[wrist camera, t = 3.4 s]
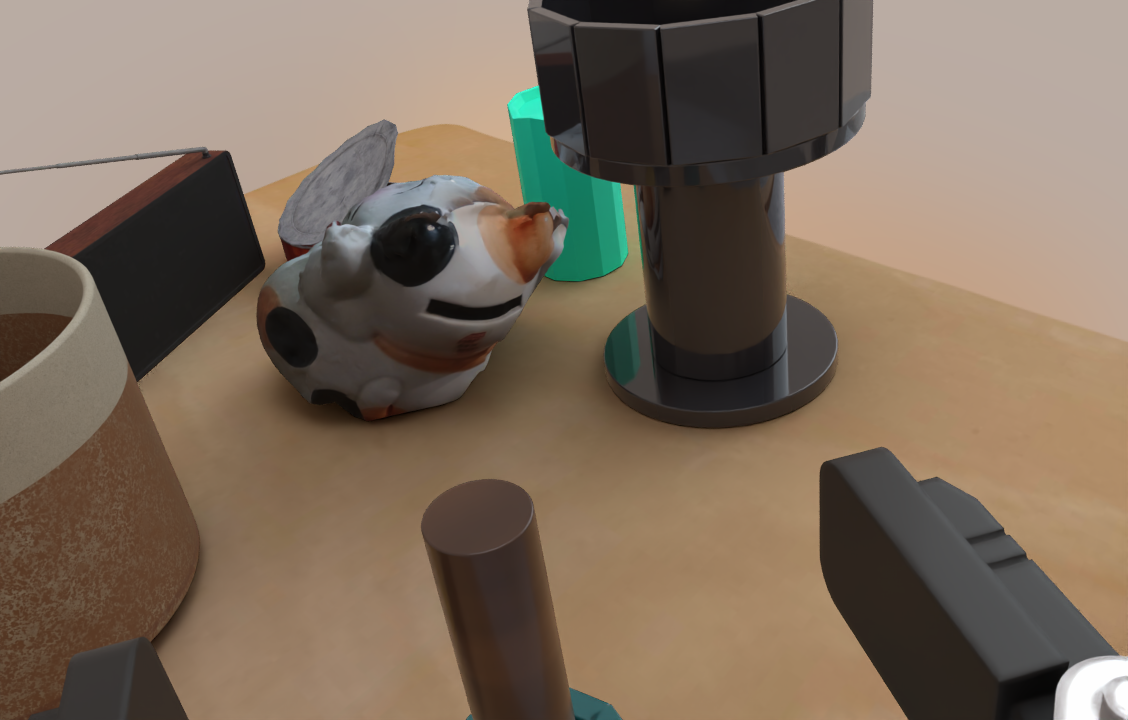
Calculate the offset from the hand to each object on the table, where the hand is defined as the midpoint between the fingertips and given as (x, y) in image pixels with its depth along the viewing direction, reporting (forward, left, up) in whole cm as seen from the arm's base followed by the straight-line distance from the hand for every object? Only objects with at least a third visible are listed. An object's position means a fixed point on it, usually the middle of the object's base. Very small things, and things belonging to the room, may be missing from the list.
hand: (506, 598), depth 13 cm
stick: (+6, -6, -21) cm, 23 cm away
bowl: (+15, -35, -22) cm, 44 cm away
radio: (+48, -26, -22) cm, 59 cm away
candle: (+28, -43, -22) cm, 56 cm away
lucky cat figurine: (+30, -30, -22) cm, 48 cm away
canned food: (+43, -39, -22) cm, 62 cm away
